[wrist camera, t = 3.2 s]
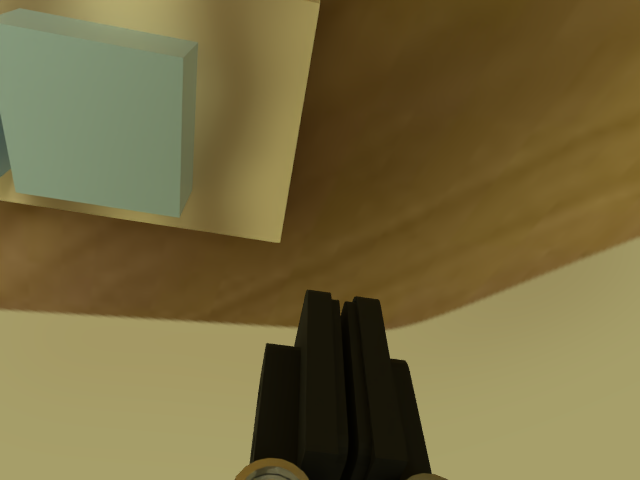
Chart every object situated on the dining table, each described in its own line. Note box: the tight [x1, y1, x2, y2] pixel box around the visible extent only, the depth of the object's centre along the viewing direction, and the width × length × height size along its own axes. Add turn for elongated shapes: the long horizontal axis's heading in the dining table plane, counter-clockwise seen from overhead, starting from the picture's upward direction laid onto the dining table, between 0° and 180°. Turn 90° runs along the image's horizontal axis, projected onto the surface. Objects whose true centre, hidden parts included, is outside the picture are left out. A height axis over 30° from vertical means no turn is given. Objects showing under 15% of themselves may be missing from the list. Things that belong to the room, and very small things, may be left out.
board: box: [0, 0, 320, 243], centre depth 19 cm, size 18×10×2 cm, turn 79°
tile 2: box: [0, 8, 198, 218], centre depth 17 cm, size 6×6×2 cm
